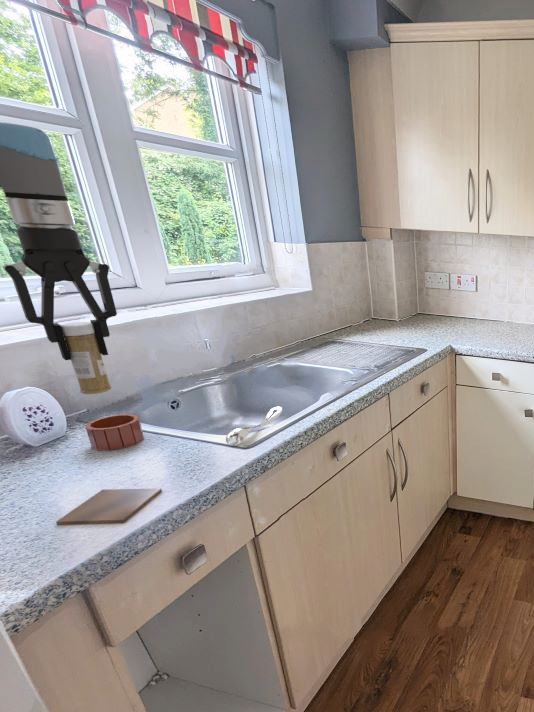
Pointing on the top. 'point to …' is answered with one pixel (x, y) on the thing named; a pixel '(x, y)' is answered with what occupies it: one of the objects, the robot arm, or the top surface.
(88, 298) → the robot arm
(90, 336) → the sprinkles bottle
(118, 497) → the cork board
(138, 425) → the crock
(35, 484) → the top surface
